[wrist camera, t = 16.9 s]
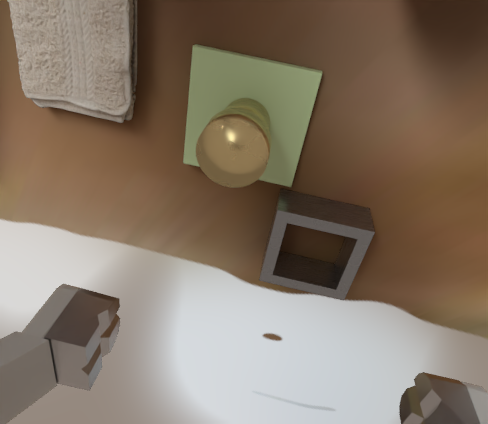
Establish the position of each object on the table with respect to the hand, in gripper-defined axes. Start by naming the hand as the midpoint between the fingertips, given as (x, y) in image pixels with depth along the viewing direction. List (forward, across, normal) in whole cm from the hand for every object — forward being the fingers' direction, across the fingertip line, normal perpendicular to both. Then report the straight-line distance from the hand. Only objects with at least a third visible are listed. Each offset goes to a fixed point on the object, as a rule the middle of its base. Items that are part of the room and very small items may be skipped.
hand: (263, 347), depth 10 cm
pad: (+30, +4, +5) cm, 31 cm away
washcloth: (+31, +21, 0) cm, 38 cm away
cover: (+29, +4, +5) cm, 30 cm away
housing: (+30, -6, +17) cm, 35 cm away
